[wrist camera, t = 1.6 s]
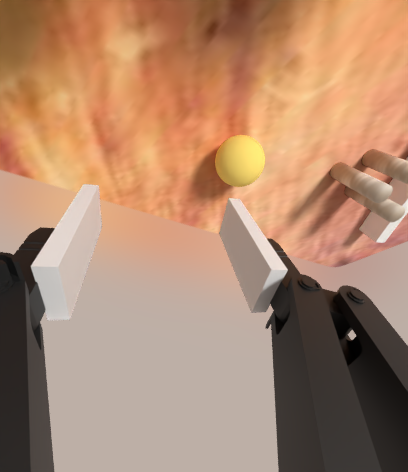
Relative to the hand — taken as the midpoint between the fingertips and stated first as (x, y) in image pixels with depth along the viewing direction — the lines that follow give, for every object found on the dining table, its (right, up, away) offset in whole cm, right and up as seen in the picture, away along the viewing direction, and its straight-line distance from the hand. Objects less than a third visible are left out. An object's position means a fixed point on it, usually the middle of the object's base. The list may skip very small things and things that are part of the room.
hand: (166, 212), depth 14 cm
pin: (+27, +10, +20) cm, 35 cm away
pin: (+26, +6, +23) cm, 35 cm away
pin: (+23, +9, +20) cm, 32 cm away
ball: (+7, +8, +14) cm, 17 cm away
